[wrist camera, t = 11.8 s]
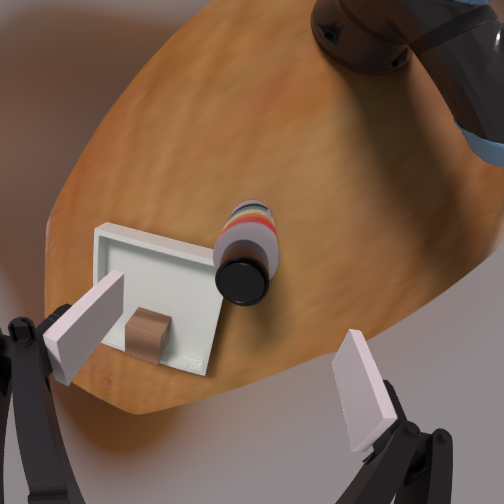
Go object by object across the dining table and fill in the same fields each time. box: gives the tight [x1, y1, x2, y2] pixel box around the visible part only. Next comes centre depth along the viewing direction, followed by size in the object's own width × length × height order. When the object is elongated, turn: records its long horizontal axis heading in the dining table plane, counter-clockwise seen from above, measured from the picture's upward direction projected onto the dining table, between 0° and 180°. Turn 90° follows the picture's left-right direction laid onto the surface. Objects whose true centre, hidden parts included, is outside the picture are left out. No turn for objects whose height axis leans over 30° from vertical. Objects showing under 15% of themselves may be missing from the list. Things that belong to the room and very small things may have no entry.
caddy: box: [93, 222, 223, 376], centre depth 40 cm, size 20×20×5 cm
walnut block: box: [125, 307, 171, 365], centre depth 39 cm, size 6×6×6 cm
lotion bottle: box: [213, 200, 279, 306], centre depth 28 cm, size 6×6×20 cm
